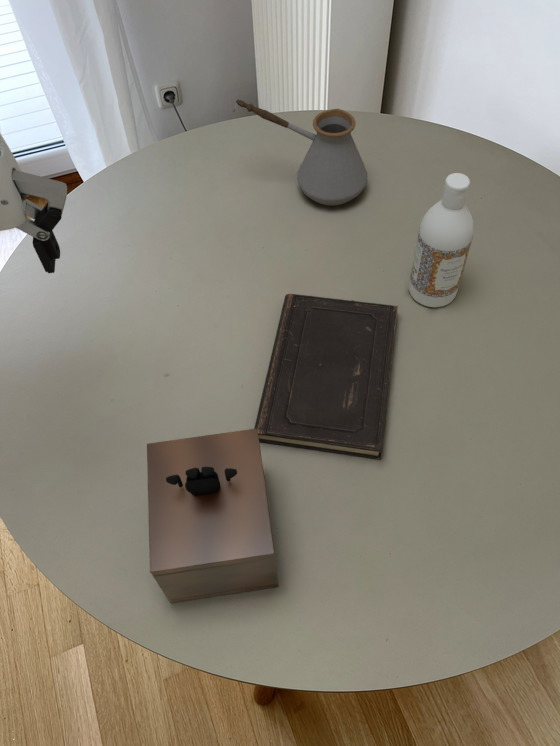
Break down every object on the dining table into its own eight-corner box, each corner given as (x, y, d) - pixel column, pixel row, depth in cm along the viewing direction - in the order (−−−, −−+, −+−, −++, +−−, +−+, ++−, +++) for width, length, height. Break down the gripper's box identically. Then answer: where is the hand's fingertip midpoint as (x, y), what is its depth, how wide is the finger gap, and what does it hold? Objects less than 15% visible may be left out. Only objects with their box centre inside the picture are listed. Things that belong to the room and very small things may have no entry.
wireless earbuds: (239, 479, 67) (234, 457, 63) (241, 502, 66) (236, 480, 61) (171, 487, 67) (162, 465, 63) (172, 510, 65) (162, 489, 61)
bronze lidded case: (170, 603, 71) (149, 572, 62) (165, 486, 79) (146, 443, 70) (278, 587, 72) (274, 553, 62) (263, 472, 79) (257, 428, 70)
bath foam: (419, 314, 92) (443, 205, 76) (400, 279, 96) (420, 168, 80) (464, 302, 93) (497, 192, 77) (444, 269, 97) (472, 157, 81)
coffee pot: (371, 171, 110) (378, 90, 98) (360, 218, 104) (367, 137, 92) (249, 158, 113) (242, 77, 101) (232, 202, 107) (222, 121, 95)
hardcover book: (395, 316, 92) (397, 305, 91) (380, 459, 80) (382, 451, 78) (285, 303, 95) (284, 292, 93) (253, 441, 82) (251, 432, 80)
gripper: (32, 63, 50) (93, 230, 64) (-201, 88, 49) (-86, 252, 63) (24, 122, 45) (91, 286, 60) (-231, 151, 45) (-101, 311, 59)
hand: (0, 268), depth 61 cm, fingers open, 9 cm apart
